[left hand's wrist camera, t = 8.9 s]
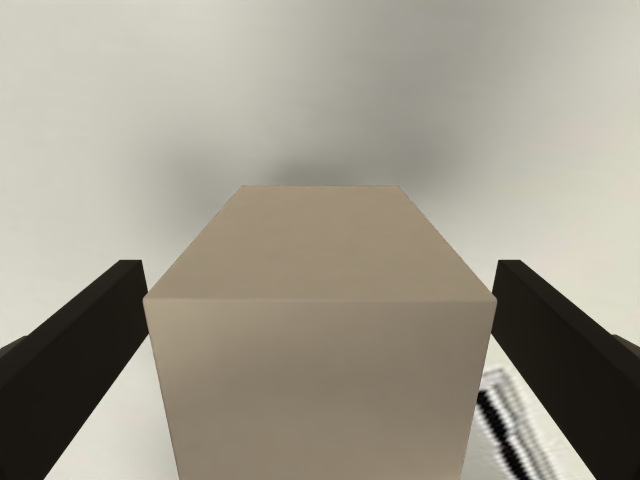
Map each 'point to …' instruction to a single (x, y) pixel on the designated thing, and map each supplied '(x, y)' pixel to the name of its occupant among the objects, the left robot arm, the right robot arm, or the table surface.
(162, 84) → the table surface
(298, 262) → the box
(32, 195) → the table surface
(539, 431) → the table surface
